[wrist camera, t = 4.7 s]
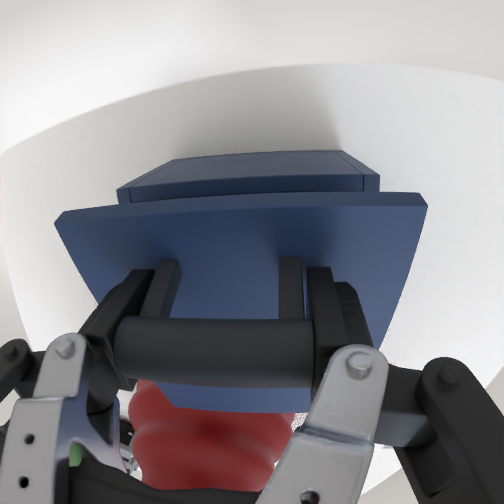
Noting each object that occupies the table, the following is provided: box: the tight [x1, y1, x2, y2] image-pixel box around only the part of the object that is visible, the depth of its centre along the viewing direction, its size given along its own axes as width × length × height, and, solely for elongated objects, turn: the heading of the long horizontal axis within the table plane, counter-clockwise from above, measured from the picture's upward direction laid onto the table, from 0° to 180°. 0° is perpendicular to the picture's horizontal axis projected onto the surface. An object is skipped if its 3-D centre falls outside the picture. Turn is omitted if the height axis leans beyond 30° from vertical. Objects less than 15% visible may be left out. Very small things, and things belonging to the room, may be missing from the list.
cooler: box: [116, 151, 380, 204], centre depth 21 cm, size 16×13×9 cm
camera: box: [119, 421, 139, 475], centre depth 38 cm, size 18×10×10 cm
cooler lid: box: [54, 192, 428, 413], centre depth 13 cm, size 16×13×5 cm
